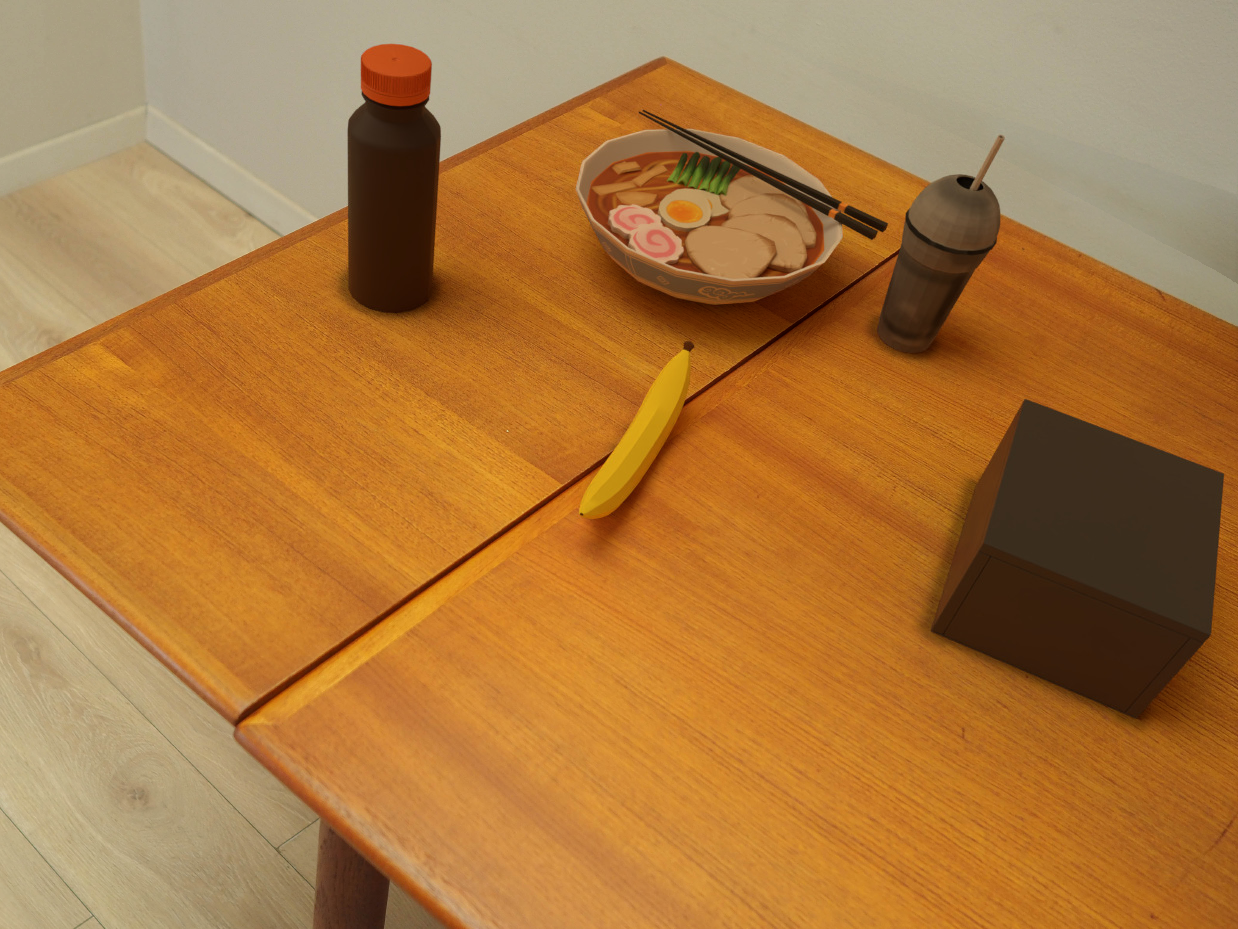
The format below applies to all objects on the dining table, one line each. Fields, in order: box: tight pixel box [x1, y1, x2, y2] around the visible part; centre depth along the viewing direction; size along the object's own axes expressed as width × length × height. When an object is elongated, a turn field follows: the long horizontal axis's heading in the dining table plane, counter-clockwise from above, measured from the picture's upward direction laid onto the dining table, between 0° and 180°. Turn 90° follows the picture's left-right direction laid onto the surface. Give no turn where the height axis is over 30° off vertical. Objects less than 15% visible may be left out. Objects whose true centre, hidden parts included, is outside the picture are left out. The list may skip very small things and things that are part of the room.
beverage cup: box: [876, 134, 1006, 354], centre depth 92 cm, size 7×7×20 cm
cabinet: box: [930, 398, 1225, 720], centre depth 78 cm, size 16×14×10 cm
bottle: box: [347, 43, 442, 314], centre depth 88 cm, size 7×7×20 cm
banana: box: [578, 340, 695, 520], centre depth 82 cm, size 3×19×6 cm, turn 155°
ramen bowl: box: [575, 109, 889, 306], centre depth 100 cm, size 25×23×8 cm
